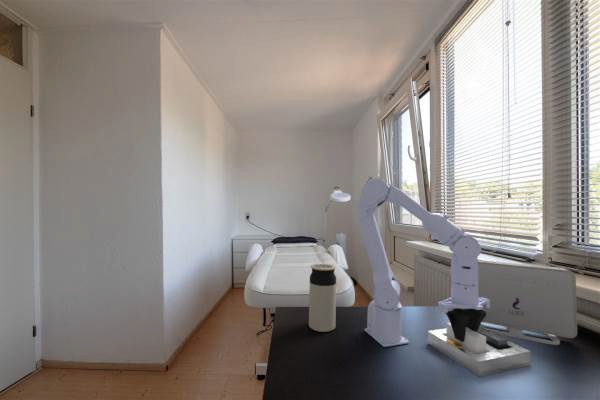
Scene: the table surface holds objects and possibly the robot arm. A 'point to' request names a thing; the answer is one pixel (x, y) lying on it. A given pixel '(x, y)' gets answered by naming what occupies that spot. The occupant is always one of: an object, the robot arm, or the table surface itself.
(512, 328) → the network device
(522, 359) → the rack
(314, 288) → the travel mug
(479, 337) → the rectangular block
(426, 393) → the table surface
